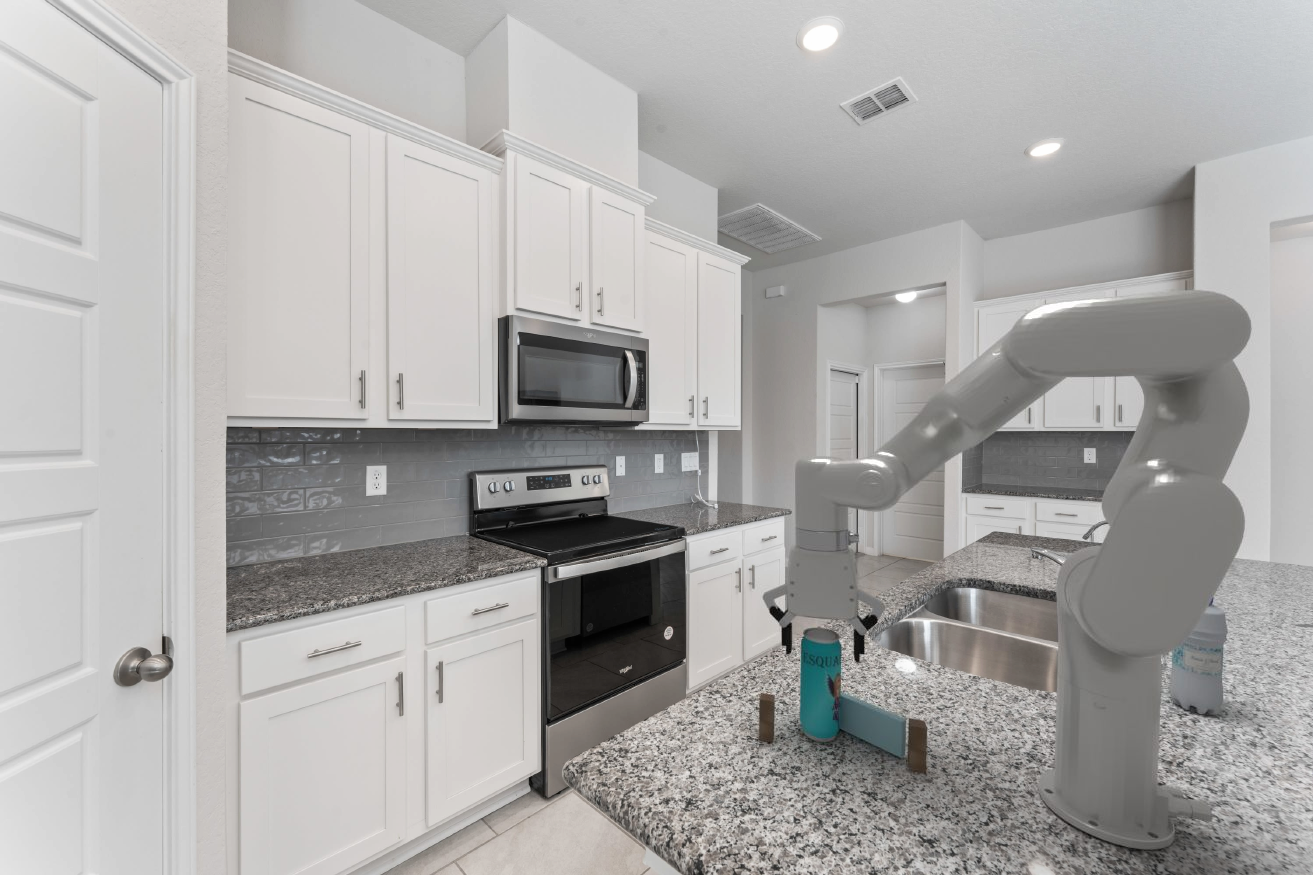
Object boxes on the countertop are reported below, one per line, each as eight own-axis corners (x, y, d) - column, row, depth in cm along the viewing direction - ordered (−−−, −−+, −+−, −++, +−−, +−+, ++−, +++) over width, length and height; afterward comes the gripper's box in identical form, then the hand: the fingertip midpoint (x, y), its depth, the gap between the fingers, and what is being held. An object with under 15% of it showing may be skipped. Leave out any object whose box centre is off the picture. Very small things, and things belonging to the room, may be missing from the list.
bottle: (1175, 711, 89) (1180, 589, 88) (1161, 694, 95) (1165, 579, 94) (1232, 722, 85) (1237, 596, 85) (1213, 703, 91) (1218, 585, 91)
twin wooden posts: (923, 761, 75) (924, 718, 75) (926, 773, 72) (927, 728, 72) (760, 732, 81) (761, 692, 81) (758, 741, 79) (758, 700, 79)
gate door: (905, 754, 76) (906, 718, 76) (901, 757, 75) (902, 721, 75) (806, 707, 88) (807, 676, 88) (802, 710, 87) (802, 679, 87)
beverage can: (831, 749, 77) (833, 644, 77) (793, 735, 81) (794, 634, 80) (845, 731, 82) (847, 632, 81) (808, 718, 85) (810, 623, 85)
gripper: (882, 537, 82) (882, 651, 82) (765, 532, 87) (766, 639, 87) (887, 548, 75) (887, 672, 75) (759, 541, 80) (760, 657, 80)
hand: (822, 654), depth 81 cm, fingers open, 9 cm apart
